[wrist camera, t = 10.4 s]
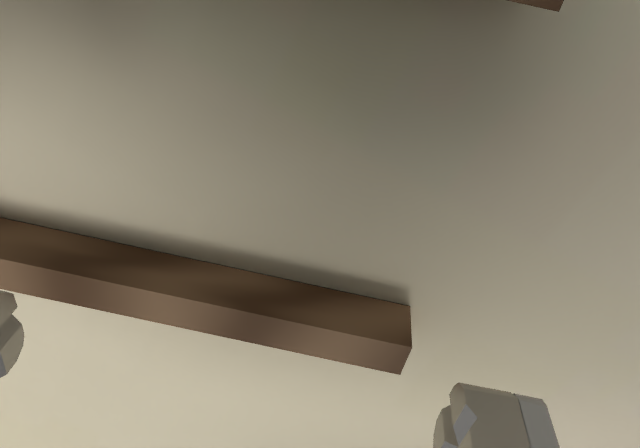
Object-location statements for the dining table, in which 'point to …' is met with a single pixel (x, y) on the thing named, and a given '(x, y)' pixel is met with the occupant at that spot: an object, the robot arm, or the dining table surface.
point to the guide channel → (208, 293)
